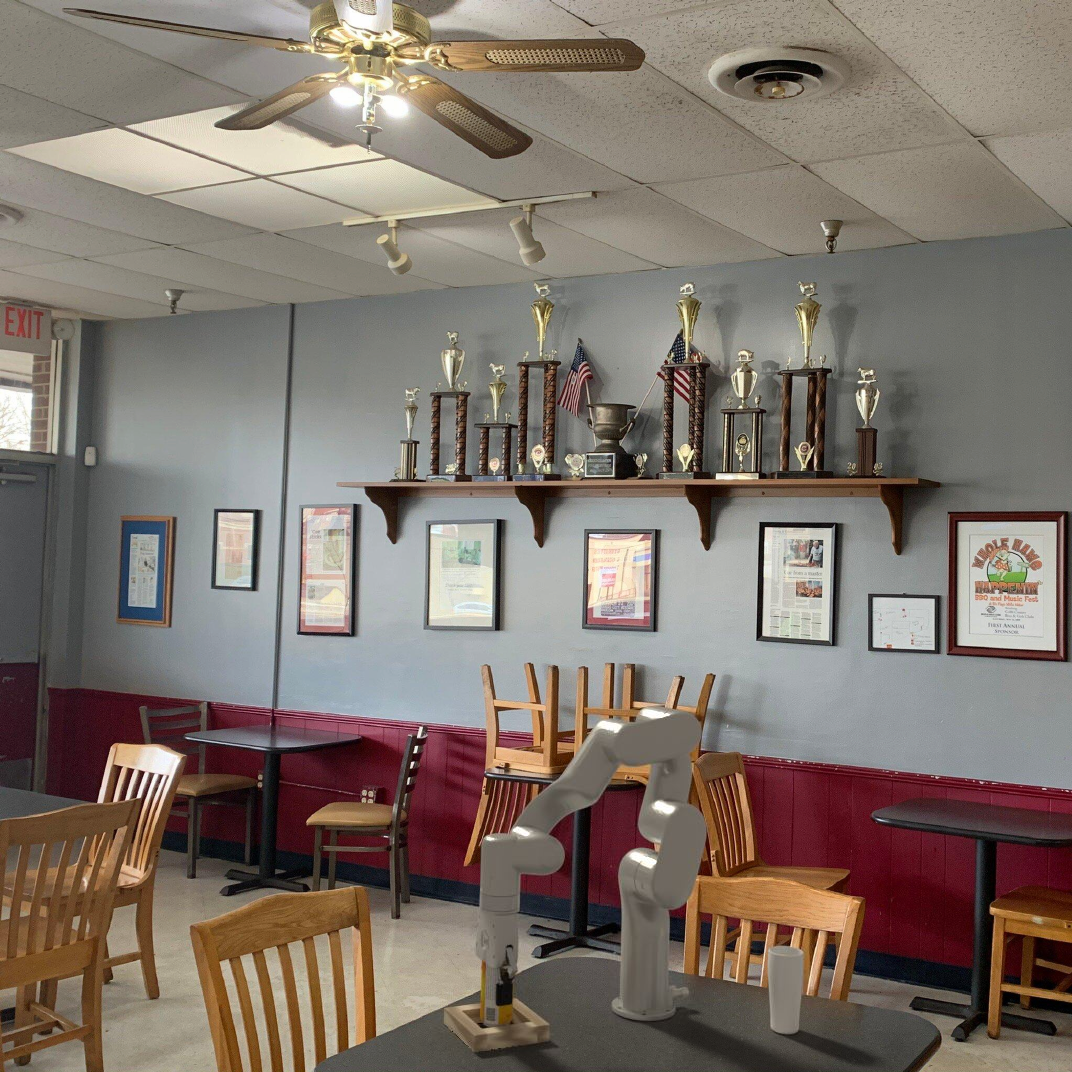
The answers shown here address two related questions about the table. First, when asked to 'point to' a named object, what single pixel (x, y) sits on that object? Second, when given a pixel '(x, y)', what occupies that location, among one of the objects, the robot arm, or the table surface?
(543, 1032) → the can holder
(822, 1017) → the table surface
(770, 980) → the drinking glass
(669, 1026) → the table surface
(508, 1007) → the beer can
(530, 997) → the table surface
